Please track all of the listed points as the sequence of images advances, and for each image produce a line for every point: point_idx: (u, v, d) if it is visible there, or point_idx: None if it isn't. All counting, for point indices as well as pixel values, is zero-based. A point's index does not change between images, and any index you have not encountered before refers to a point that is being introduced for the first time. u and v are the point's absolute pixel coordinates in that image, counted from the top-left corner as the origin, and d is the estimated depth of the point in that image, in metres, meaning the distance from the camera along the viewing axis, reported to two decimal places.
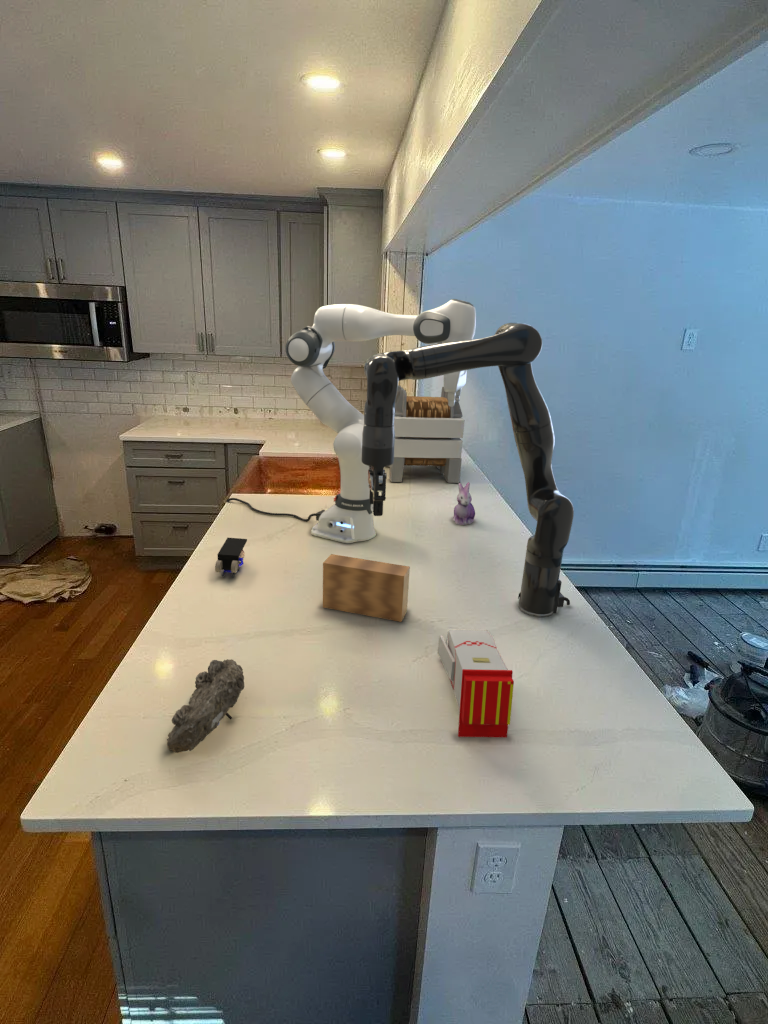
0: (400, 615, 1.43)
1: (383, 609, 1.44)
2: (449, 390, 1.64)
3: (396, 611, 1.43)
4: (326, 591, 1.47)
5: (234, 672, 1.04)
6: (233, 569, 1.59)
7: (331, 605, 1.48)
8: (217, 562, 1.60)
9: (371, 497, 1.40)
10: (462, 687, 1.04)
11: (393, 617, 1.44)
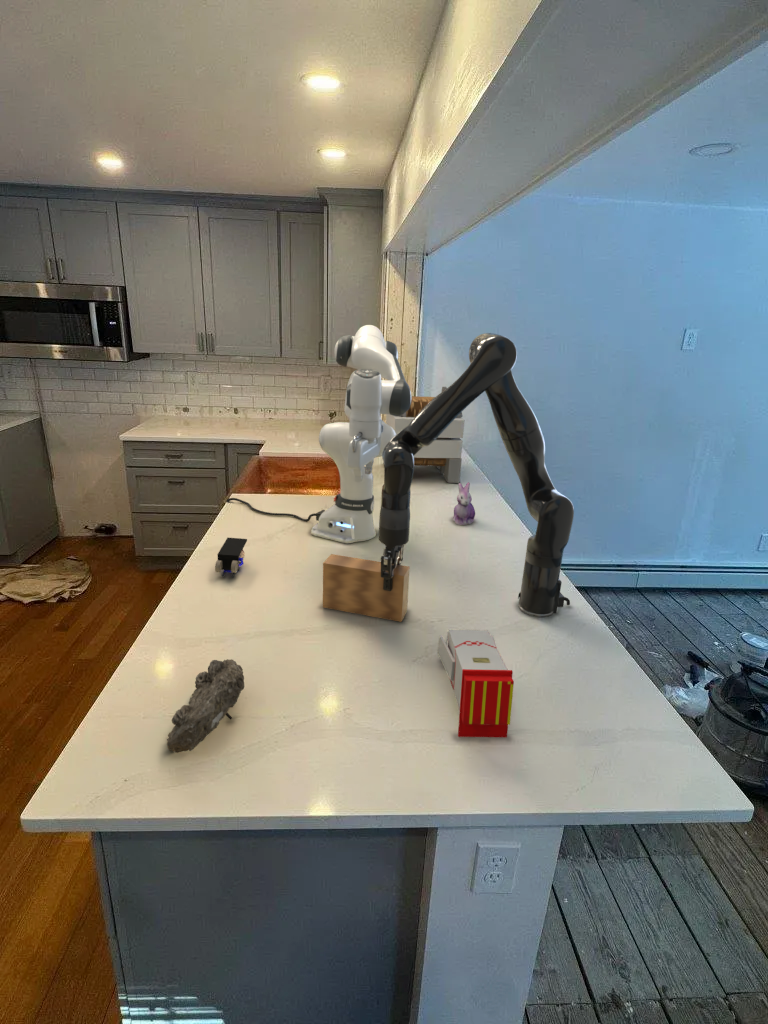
0: (400, 615, 1.43)
1: (383, 609, 1.44)
2: None
3: (396, 611, 1.43)
4: (326, 591, 1.47)
5: (234, 672, 1.04)
6: (233, 569, 1.59)
7: (331, 605, 1.48)
8: (217, 562, 1.60)
9: None
10: (462, 687, 1.04)
11: (393, 617, 1.44)
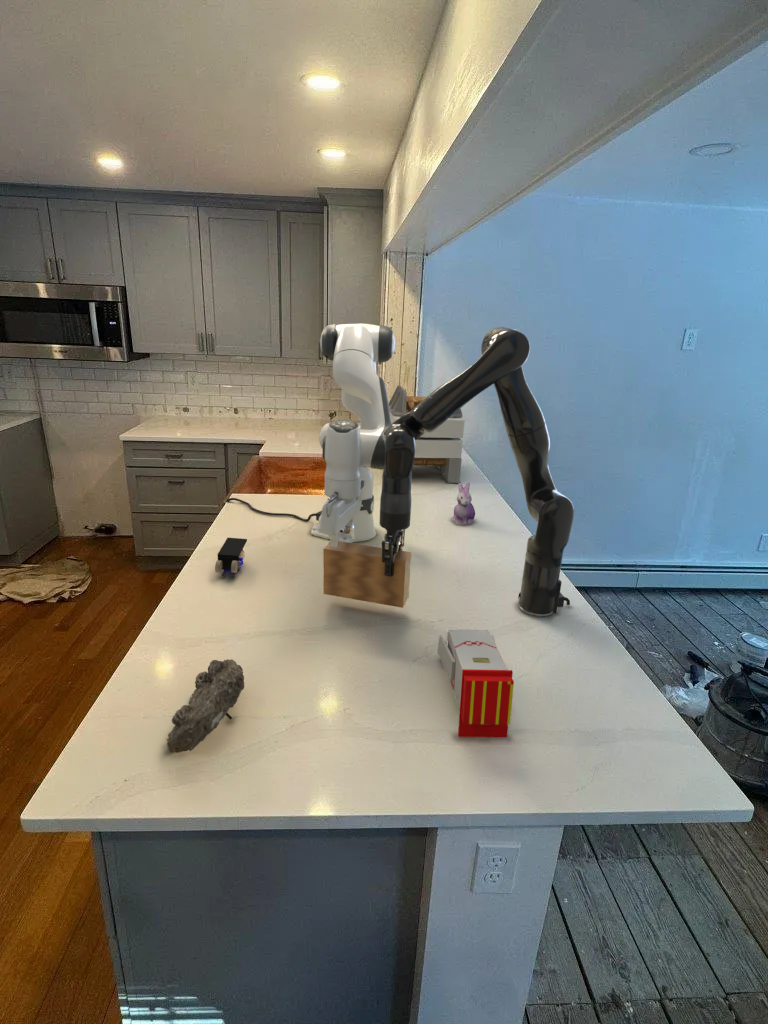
0: (402, 601, 1.42)
1: (384, 595, 1.43)
2: None
3: (397, 597, 1.42)
4: (327, 577, 1.46)
5: (234, 672, 1.04)
6: (233, 569, 1.59)
7: (332, 592, 1.47)
8: (217, 562, 1.60)
9: None
10: (462, 687, 1.04)
11: (395, 603, 1.43)
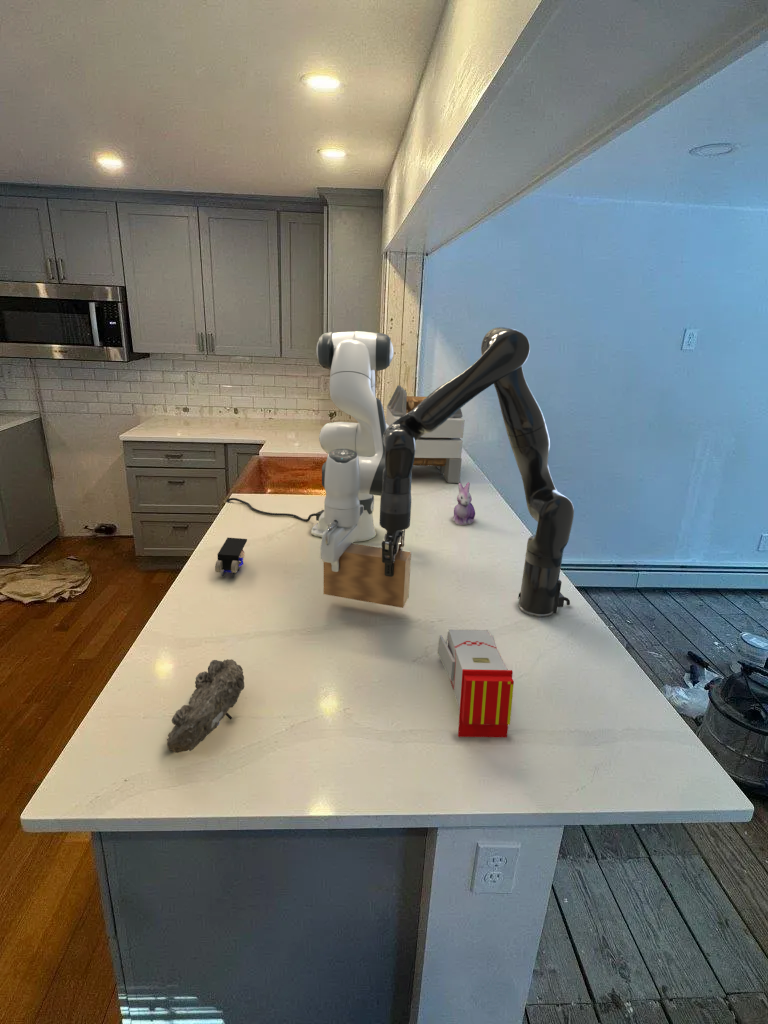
0: (402, 601, 1.42)
1: (384, 595, 1.43)
2: None
3: (397, 597, 1.42)
4: (327, 578, 1.46)
5: (234, 672, 1.04)
6: (233, 569, 1.59)
7: (332, 592, 1.47)
8: (217, 562, 1.60)
9: None
10: (462, 687, 1.04)
11: (395, 603, 1.43)
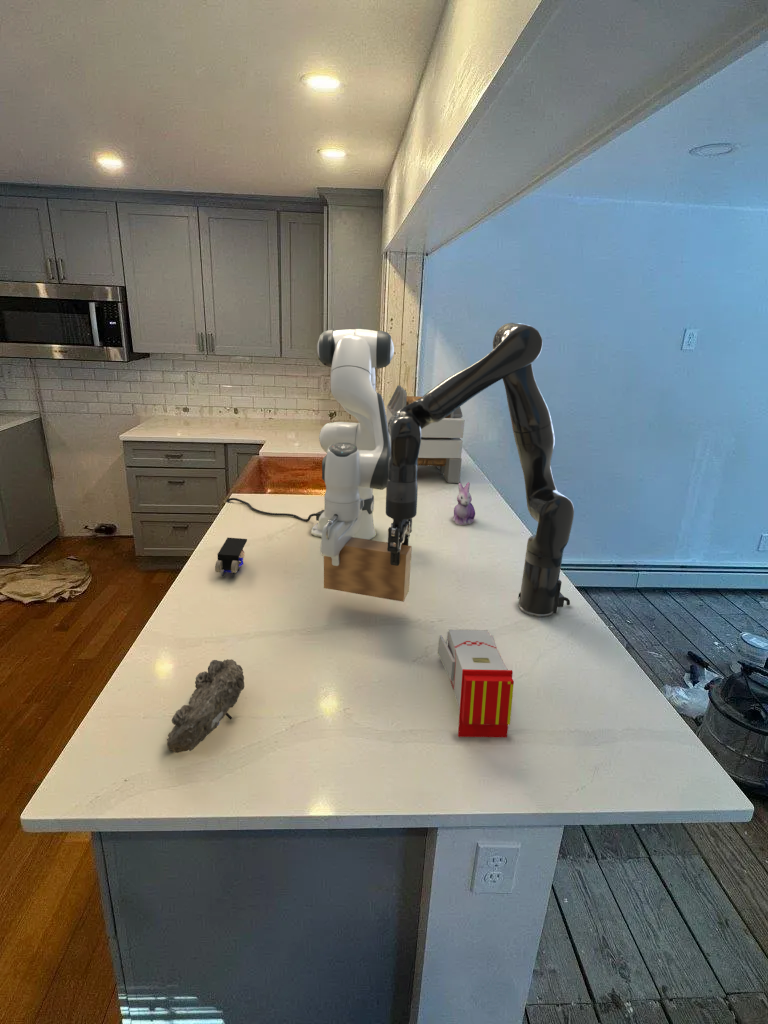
0: (402, 595, 1.42)
1: (385, 589, 1.43)
2: None
3: (398, 591, 1.42)
4: (327, 571, 1.45)
5: (234, 672, 1.04)
6: (233, 569, 1.59)
7: (333, 586, 1.46)
8: (217, 562, 1.60)
9: None
10: (462, 687, 1.04)
11: (395, 597, 1.42)
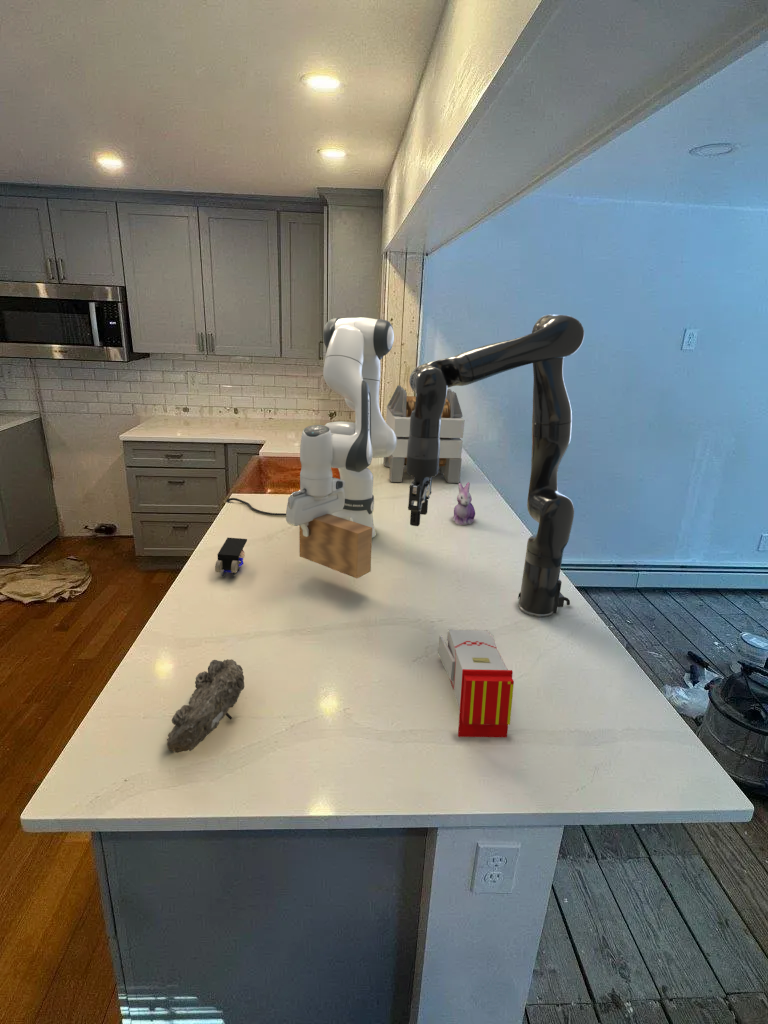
0: (356, 572, 1.51)
1: (343, 564, 1.53)
2: None
3: (352, 567, 1.51)
4: (302, 541, 1.61)
5: (234, 672, 1.04)
6: (233, 569, 1.59)
7: (306, 555, 1.61)
8: (217, 562, 1.60)
9: (420, 507, 1.40)
10: (462, 687, 1.04)
11: (351, 573, 1.52)
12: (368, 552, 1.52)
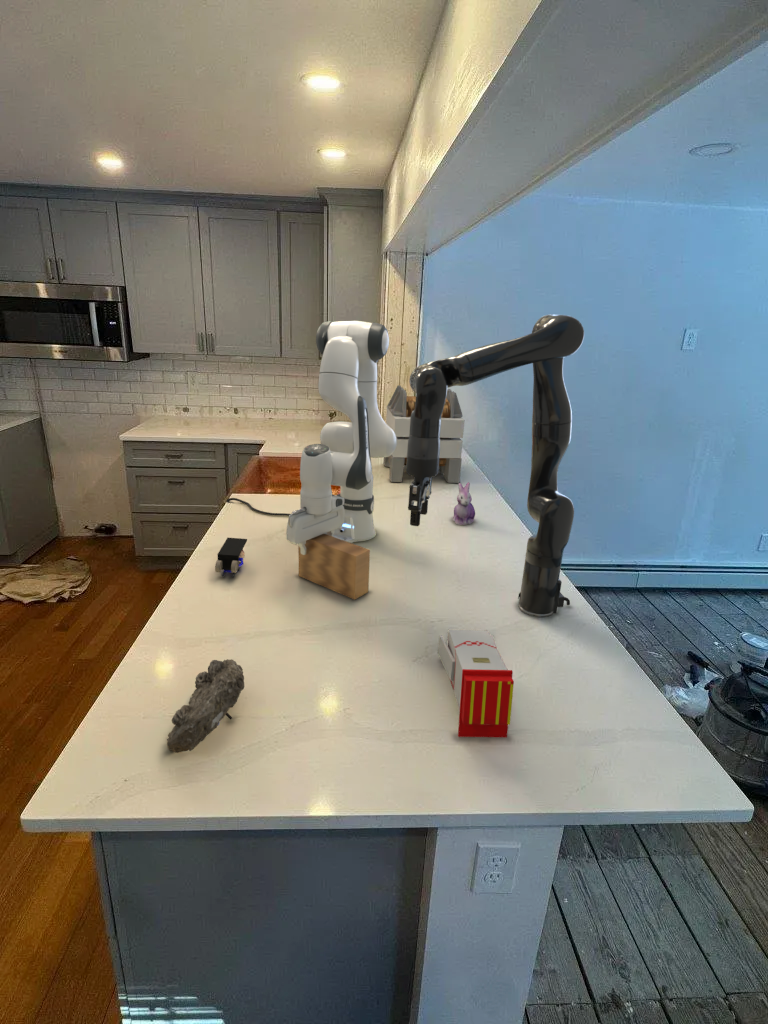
0: (353, 593, 1.53)
1: (341, 585, 1.55)
2: None
3: (350, 589, 1.54)
4: (301, 561, 1.63)
5: (234, 672, 1.04)
6: (233, 569, 1.59)
7: (304, 575, 1.64)
8: (217, 562, 1.60)
9: (420, 507, 1.40)
10: (462, 687, 1.04)
11: (349, 594, 1.54)
12: (366, 573, 1.55)
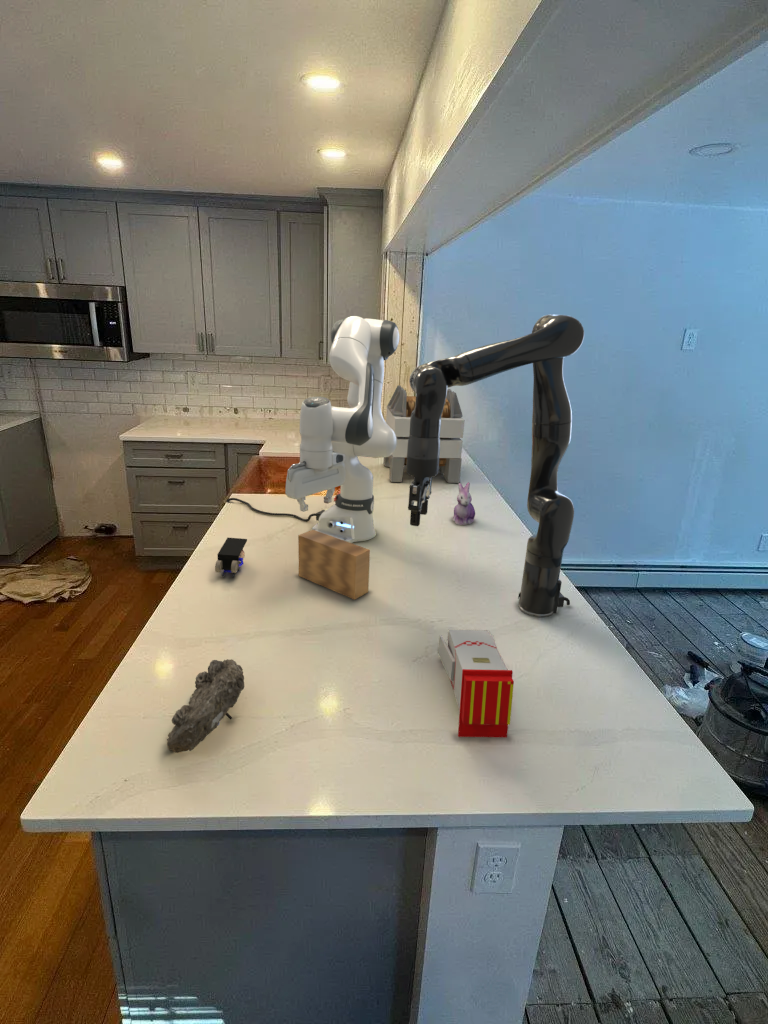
0: (353, 593, 1.53)
1: (341, 585, 1.55)
2: None
3: (350, 589, 1.54)
4: (301, 561, 1.63)
5: (234, 672, 1.04)
6: (233, 569, 1.59)
7: (304, 575, 1.64)
8: (217, 562, 1.60)
9: (420, 507, 1.40)
10: (462, 687, 1.04)
11: (349, 594, 1.54)
12: (366, 573, 1.55)
